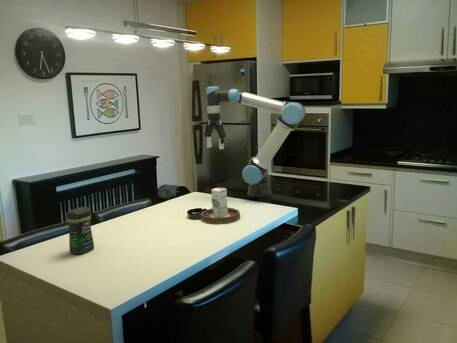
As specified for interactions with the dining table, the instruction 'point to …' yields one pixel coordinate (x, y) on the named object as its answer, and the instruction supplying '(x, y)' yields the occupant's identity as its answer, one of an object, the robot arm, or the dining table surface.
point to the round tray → (209, 218)
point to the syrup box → (219, 202)
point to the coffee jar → (80, 230)
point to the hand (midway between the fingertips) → (215, 148)
